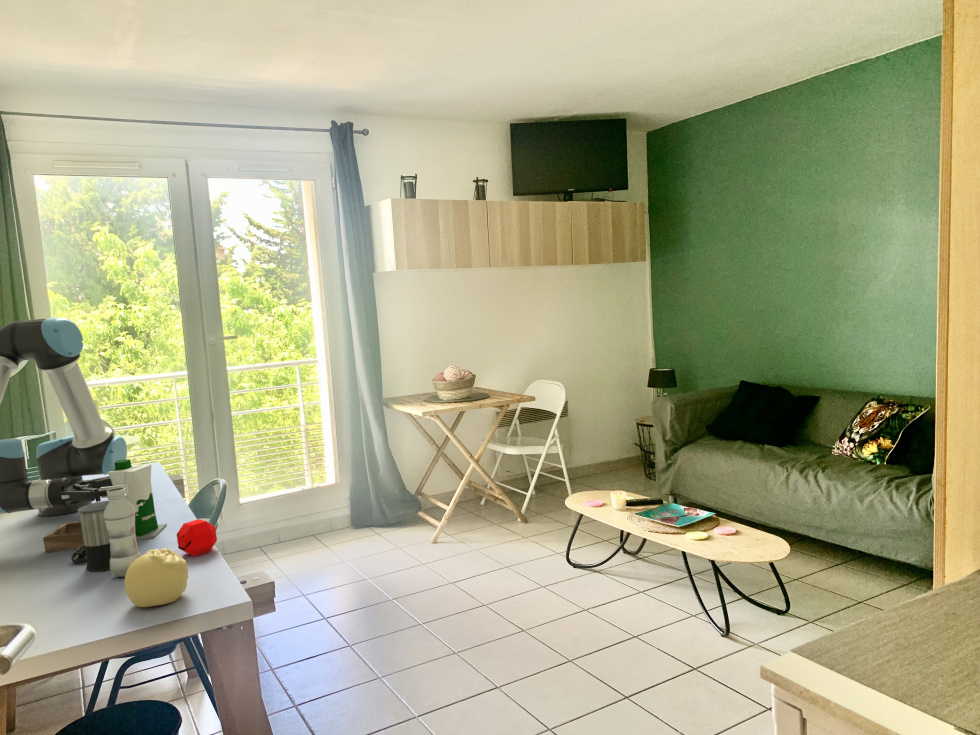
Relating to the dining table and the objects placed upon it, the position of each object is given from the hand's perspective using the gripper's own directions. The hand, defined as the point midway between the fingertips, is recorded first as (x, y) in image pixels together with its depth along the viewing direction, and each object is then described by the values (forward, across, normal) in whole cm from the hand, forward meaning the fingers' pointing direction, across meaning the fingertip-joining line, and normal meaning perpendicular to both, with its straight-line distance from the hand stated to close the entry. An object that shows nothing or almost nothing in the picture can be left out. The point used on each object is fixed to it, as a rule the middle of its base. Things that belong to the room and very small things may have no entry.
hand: (136, 483), depth 199 cm
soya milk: (-1, 0, -14) cm, 14 cm away
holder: (-16, 0, -14) cm, 21 cm away
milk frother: (-4, +22, -14) cm, 26 cm away
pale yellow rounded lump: (+20, +54, -14) cm, 59 cm away
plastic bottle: (+7, +34, -14) cm, 38 cm away
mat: (-1, 0, -14) cm, 14 cm away
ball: (+20, +24, -14) cm, 35 cm away
